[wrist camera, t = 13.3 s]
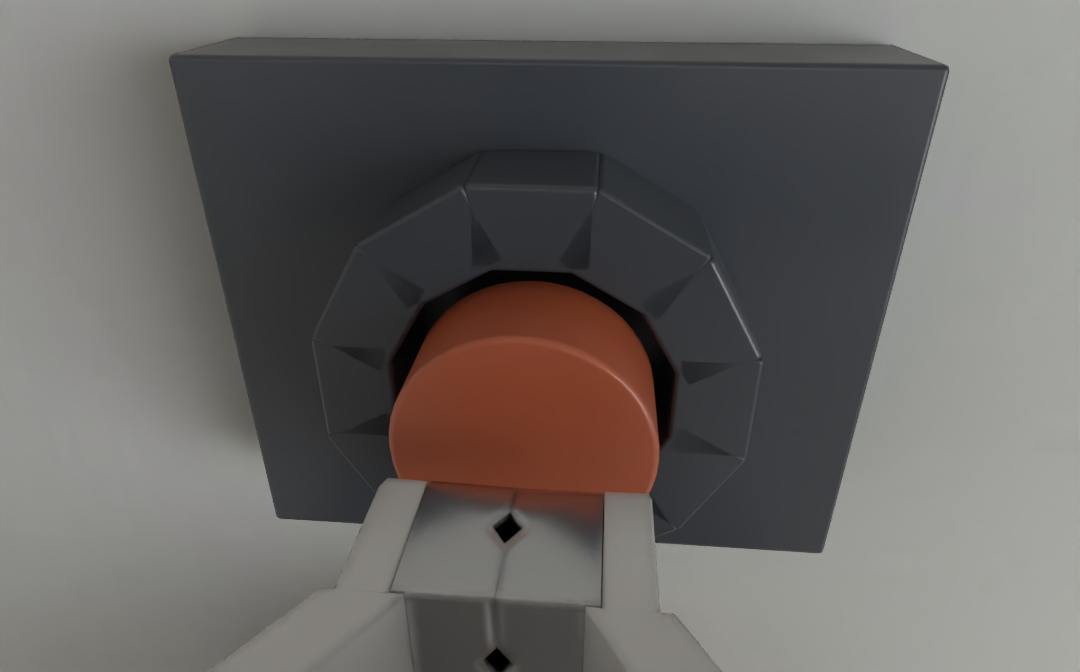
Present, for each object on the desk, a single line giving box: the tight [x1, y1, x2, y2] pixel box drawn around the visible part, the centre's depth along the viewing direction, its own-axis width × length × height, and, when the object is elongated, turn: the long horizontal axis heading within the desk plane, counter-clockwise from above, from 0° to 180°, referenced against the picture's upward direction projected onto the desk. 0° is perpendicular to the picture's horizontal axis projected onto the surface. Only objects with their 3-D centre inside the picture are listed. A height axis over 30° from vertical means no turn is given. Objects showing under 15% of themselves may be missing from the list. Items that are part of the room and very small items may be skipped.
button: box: [389, 281, 660, 497], centre depth 10 cm, size 4×4×2 cm
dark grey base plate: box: [169, 37, 949, 553], centre depth 12 cm, size 11×9×4 cm
